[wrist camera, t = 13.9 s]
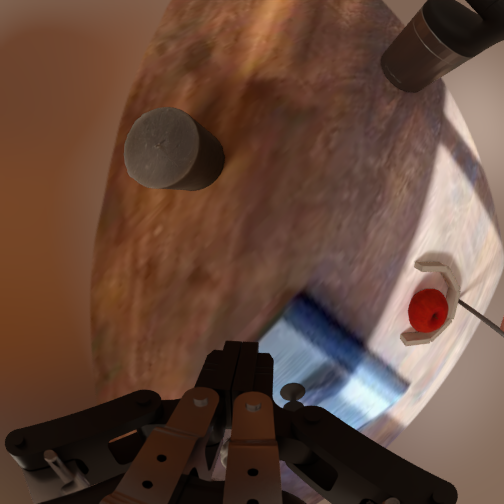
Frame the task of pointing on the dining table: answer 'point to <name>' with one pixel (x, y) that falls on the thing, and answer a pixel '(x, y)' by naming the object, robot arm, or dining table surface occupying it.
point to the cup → (452, 305)
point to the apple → (428, 310)
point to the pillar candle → (172, 151)
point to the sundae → (292, 396)
